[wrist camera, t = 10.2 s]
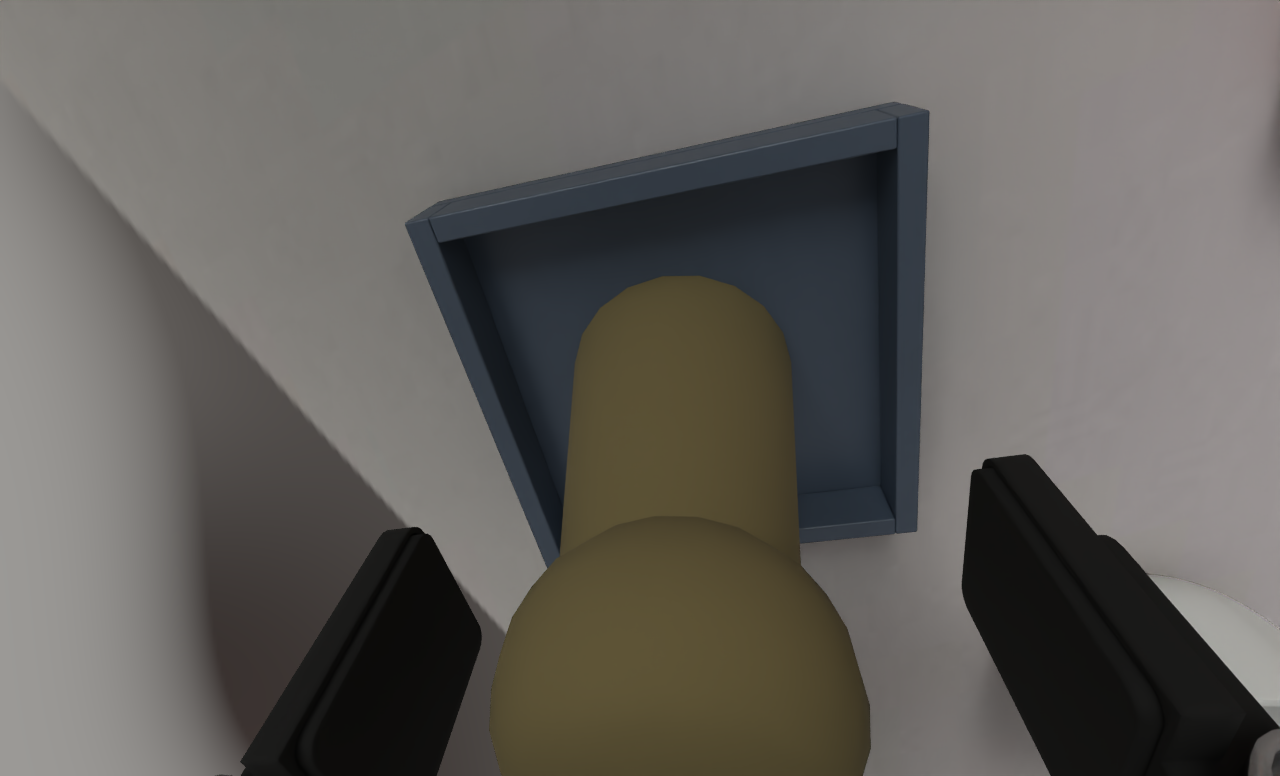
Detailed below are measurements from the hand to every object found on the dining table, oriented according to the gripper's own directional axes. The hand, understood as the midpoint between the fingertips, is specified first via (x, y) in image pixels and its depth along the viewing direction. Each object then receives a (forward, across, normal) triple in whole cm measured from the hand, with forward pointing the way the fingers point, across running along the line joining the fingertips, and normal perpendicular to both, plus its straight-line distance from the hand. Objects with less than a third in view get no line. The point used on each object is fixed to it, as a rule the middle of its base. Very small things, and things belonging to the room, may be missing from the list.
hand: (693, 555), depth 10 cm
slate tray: (+7, 0, 0) cm, 7 cm away
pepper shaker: (+7, 0, 0) cm, 7 cm away
